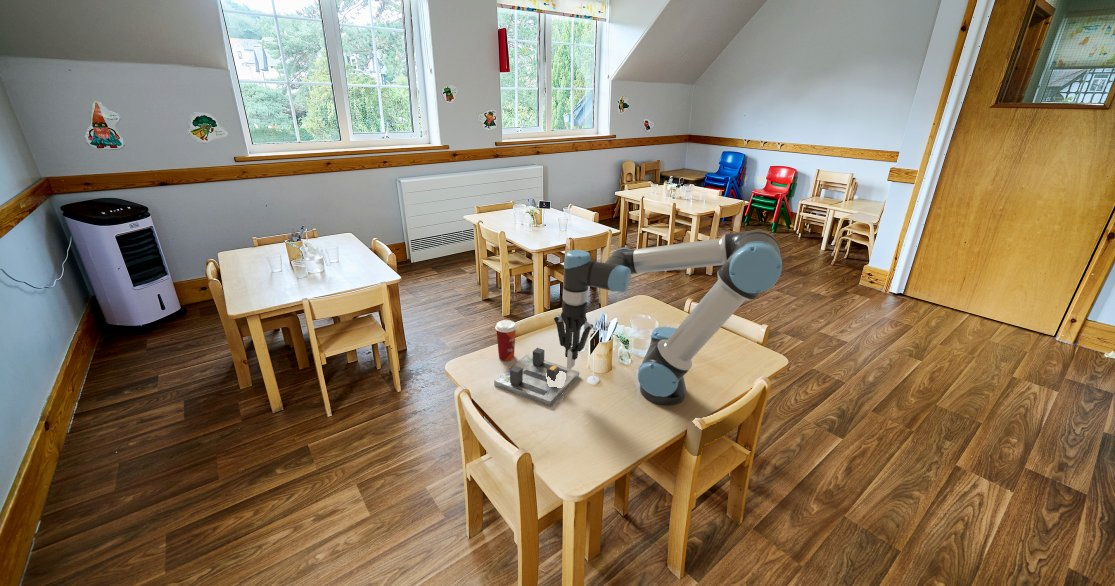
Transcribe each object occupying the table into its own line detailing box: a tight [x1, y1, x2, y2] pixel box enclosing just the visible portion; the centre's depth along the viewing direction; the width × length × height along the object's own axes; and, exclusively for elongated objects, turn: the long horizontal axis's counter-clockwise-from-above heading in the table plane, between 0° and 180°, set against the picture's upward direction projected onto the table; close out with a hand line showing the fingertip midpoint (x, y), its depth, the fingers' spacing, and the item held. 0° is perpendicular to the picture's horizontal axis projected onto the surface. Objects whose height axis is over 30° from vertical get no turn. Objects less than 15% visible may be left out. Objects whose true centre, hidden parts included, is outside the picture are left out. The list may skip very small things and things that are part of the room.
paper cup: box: [494, 319, 517, 362], centre depth 173 cm, size 8×8×14 cm
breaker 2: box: [532, 347, 545, 366], centre depth 168 cm, size 3×3×5 cm
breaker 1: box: [510, 366, 523, 385], centre depth 157 cm, size 3×3×5 cm
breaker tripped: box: [547, 365, 559, 381], centre depth 158 cm, size 3×3×5 cm
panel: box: [493, 353, 580, 408], centre depth 162 cm, size 22×20×2 cm
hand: (570, 366), depth 153 cm, fingers closed
